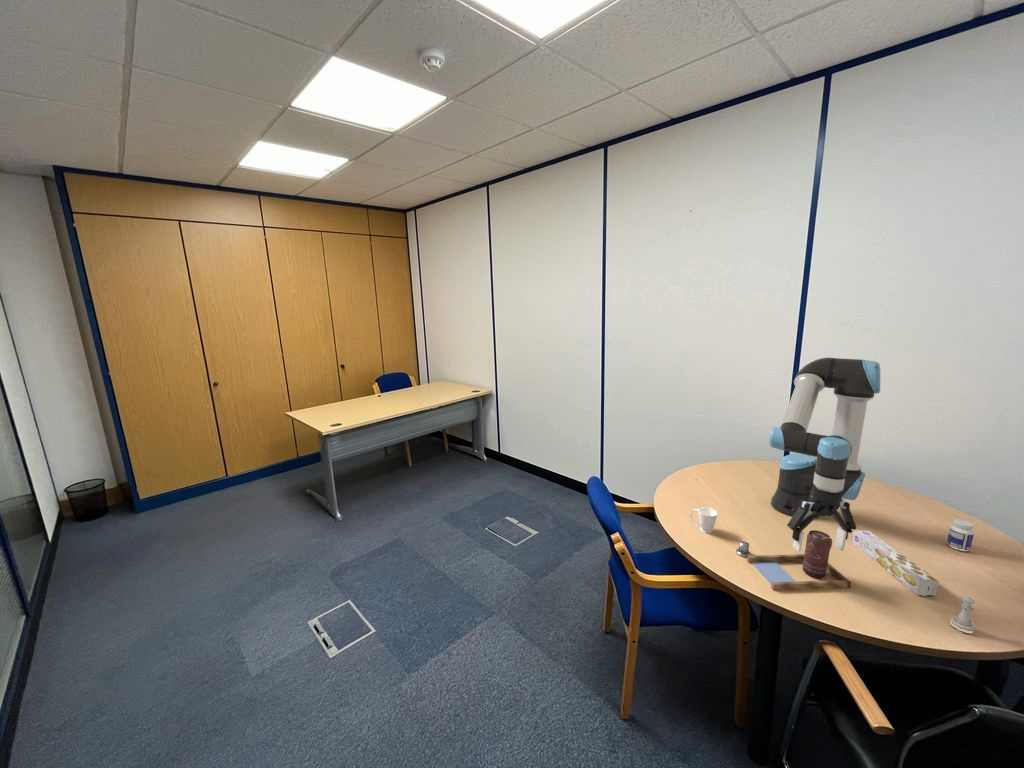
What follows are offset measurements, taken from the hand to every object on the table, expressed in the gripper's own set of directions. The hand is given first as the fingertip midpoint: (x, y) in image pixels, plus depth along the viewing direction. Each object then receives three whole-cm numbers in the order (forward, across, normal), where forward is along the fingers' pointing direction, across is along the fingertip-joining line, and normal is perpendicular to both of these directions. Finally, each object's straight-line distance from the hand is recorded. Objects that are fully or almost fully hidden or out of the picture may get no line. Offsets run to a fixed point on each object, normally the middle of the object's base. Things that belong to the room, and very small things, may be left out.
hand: (817, 548), depth 130 cm
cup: (+9, +24, -27) cm, 37 cm away
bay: (+9, +6, 0) cm, 11 cm away
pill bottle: (+9, -59, -11) cm, 61 cm away
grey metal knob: (+9, +17, -11) cm, 22 cm away
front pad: (+9, +13, 0) cm, 16 cm away
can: (+10, 0, 0) cm, 10 cm away
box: (+9, -27, -2) cm, 29 cm away
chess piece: (+10, -23, +23) cm, 34 cm away
